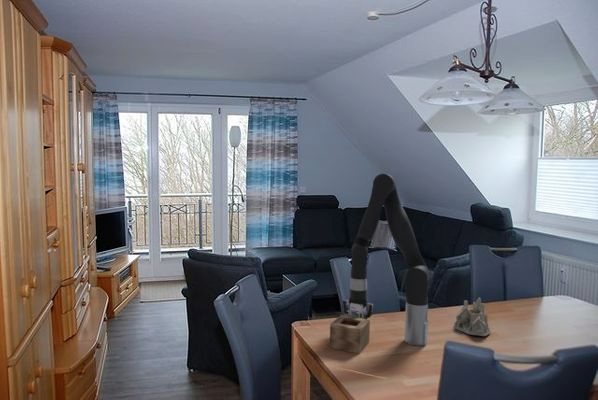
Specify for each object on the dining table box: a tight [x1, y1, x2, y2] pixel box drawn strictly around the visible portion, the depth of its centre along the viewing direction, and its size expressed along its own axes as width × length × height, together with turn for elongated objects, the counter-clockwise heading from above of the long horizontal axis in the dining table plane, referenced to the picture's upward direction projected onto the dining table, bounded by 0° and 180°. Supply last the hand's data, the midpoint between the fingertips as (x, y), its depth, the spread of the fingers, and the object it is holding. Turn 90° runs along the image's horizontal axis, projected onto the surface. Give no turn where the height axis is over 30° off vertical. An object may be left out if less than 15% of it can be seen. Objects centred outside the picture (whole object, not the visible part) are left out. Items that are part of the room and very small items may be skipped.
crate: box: [329, 314, 371, 355], centre depth 189 cm, size 13×13×10 cm
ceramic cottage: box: [453, 297, 491, 337], centre depth 208 cm, size 16×16×15 cm
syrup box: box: [349, 303, 367, 319], centre depth 201 cm, size 6×6×14 cm
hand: (357, 324), depth 202 cm, fingers closed on syrup box, 5 cm apart
